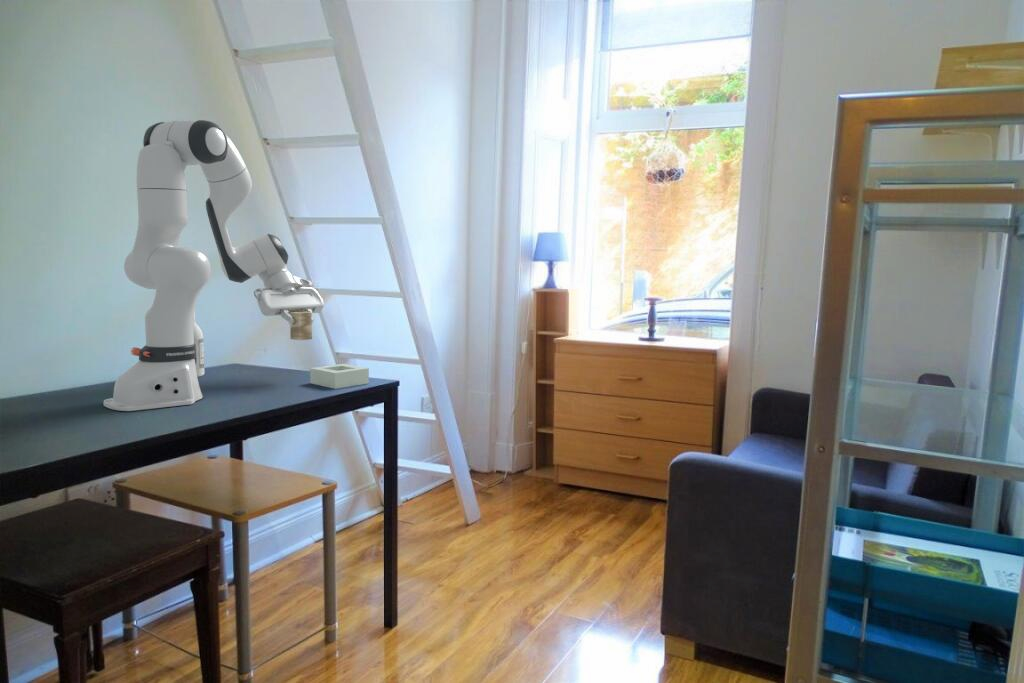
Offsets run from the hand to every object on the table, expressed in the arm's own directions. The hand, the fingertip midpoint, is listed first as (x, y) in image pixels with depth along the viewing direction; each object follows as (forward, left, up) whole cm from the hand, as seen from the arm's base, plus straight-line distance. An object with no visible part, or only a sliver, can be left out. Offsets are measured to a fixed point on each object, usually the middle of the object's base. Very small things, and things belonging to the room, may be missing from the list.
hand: (302, 322), depth 210 cm
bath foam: (-19, +30, -18) cm, 40 cm away
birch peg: (0, +1, -5) cm, 5 cm away
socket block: (+5, -11, -17) cm, 21 cm away
